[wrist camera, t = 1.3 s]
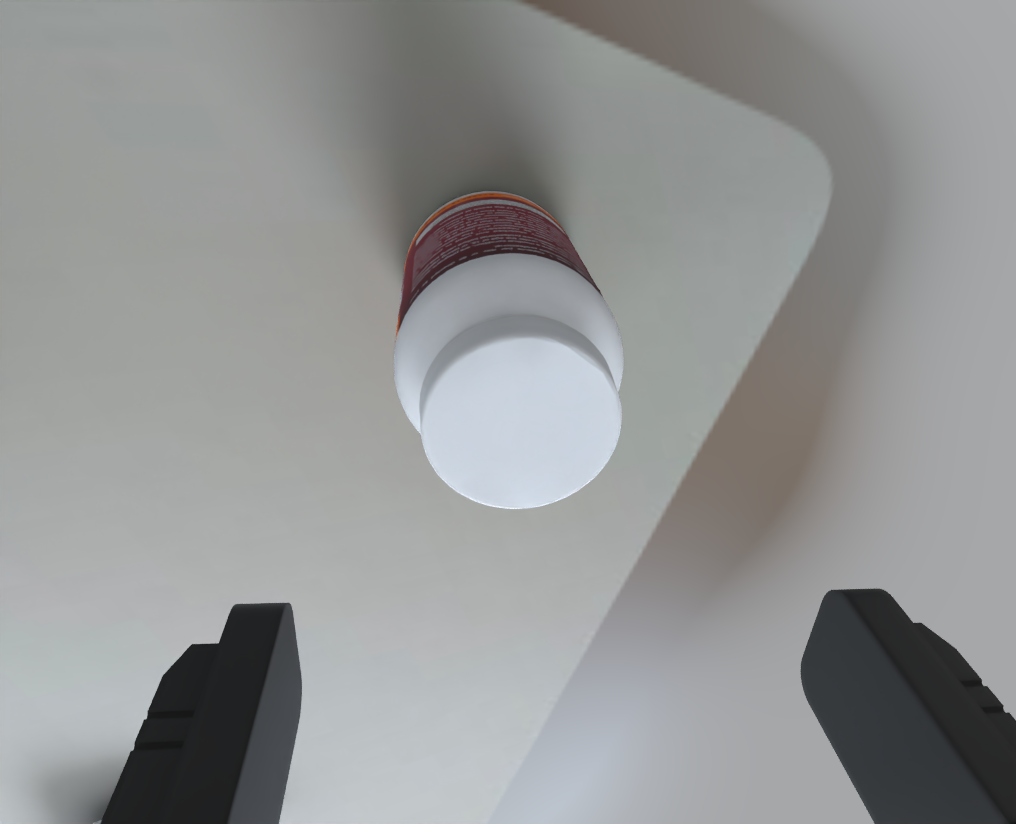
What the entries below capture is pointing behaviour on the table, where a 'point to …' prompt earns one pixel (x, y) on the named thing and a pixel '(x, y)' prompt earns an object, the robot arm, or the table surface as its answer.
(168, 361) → the table surface
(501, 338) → the pill bottle
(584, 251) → the table surface
